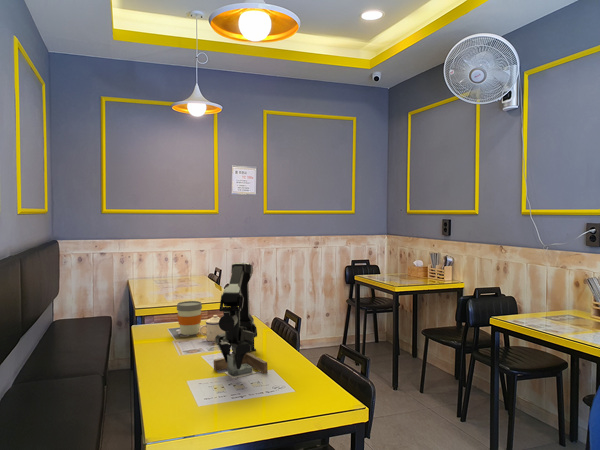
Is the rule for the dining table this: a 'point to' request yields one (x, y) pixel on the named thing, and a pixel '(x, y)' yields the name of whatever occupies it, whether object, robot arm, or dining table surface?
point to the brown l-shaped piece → (247, 359)
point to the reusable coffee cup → (189, 317)
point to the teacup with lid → (212, 328)
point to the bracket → (233, 369)
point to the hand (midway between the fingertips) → (232, 365)
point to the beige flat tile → (240, 375)
